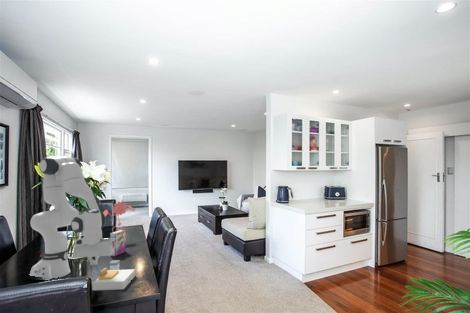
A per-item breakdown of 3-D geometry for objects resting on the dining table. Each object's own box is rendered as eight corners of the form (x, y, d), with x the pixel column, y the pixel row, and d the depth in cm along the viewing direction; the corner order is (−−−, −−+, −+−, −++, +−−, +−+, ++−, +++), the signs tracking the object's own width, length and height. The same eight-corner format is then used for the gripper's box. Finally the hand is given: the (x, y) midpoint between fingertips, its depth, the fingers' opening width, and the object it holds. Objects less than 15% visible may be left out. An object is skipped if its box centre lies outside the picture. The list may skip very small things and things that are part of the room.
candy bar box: (115, 256, 185) (115, 233, 186) (109, 256, 187) (109, 233, 187) (126, 251, 196) (125, 229, 197) (120, 251, 197) (120, 229, 198)
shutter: (98, 279, 137) (98, 273, 137) (106, 272, 146) (106, 266, 146) (111, 278, 137) (111, 272, 138) (118, 272, 146) (118, 266, 147)
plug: (109, 274, 154) (108, 263, 155) (112, 271, 159) (112, 260, 159) (116, 273, 154) (116, 262, 155) (120, 270, 159) (120, 260, 159)
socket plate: (92, 290, 134) (92, 282, 134) (107, 277, 150) (107, 270, 150) (123, 289, 134) (123, 281, 134) (135, 276, 150) (135, 269, 150)
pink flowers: (101, 243, 220) (101, 202, 221) (130, 237, 239) (130, 199, 240) (108, 247, 210) (108, 204, 211) (138, 240, 229) (138, 200, 230)
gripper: (114, 236, 146) (115, 261, 145) (78, 238, 145) (78, 263, 145) (109, 239, 140) (110, 265, 139) (71, 241, 139) (71, 267, 138)
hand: (93, 264), depth 142 cm, fingers closed
